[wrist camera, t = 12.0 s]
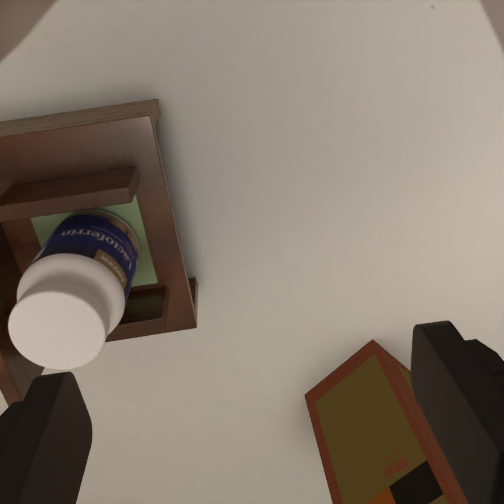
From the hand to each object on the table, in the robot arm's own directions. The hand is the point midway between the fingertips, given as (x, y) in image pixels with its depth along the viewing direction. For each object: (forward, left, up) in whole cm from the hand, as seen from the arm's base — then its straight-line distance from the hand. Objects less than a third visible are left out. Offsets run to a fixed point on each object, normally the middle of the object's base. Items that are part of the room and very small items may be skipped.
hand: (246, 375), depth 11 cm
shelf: (+5, -10, -28) cm, 30 cm away
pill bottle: (+5, -9, -22) cm, 24 cm away
